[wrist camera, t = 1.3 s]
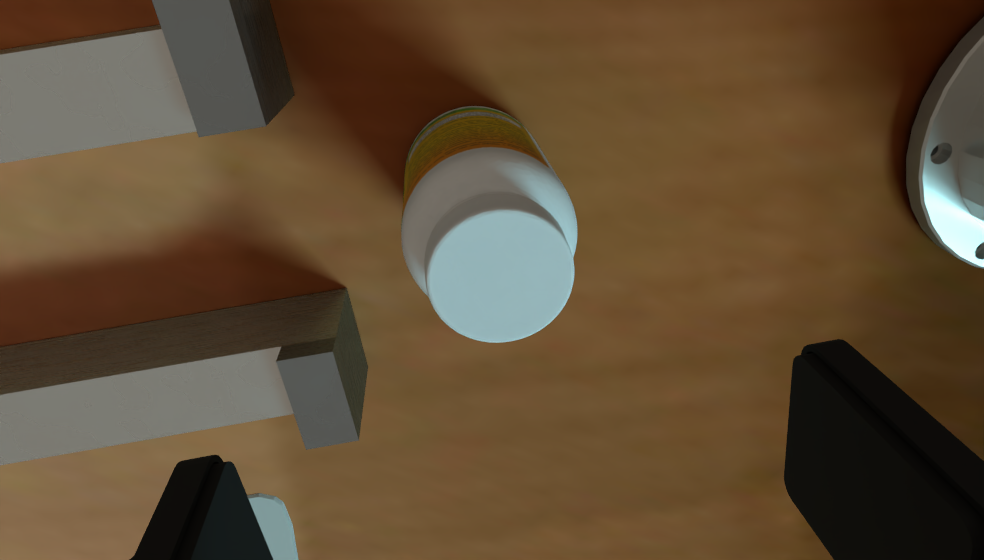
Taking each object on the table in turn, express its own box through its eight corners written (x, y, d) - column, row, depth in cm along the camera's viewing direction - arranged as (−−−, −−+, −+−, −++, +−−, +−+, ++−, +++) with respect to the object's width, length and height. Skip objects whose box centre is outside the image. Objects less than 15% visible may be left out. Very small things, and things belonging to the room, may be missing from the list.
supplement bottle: (375, 159, 25) (353, 264, 17) (489, 73, 24) (527, 136, 16) (459, 260, 28) (478, 399, 19) (566, 185, 27) (637, 294, 18)
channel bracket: (262, -25, 22) (222, -21, 18) (368, 367, 29) (358, 440, 25) (-250, 55, 22) (-421, 80, 17) (-16, 433, 29) (-96, 520, 24)
